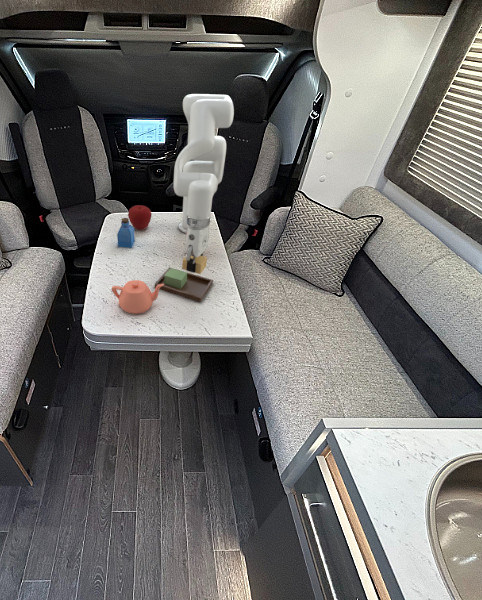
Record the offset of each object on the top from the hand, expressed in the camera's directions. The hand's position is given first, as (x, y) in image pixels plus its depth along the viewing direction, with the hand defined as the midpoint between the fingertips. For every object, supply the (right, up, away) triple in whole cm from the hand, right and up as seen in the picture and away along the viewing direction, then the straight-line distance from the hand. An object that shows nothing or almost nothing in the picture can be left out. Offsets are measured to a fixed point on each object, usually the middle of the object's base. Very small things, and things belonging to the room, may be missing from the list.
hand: (194, 266), depth 122 cm
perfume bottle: (-27, +13, +32) cm, 44 cm away
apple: (-22, +23, +44) cm, 54 cm away
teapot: (-20, -14, -1) cm, 24 cm away
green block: (-6, -5, +9) cm, 12 cm away
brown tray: (-3, -7, +8) cm, 11 cm away
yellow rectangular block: (0, 0, 0) cm, 1 cm away
